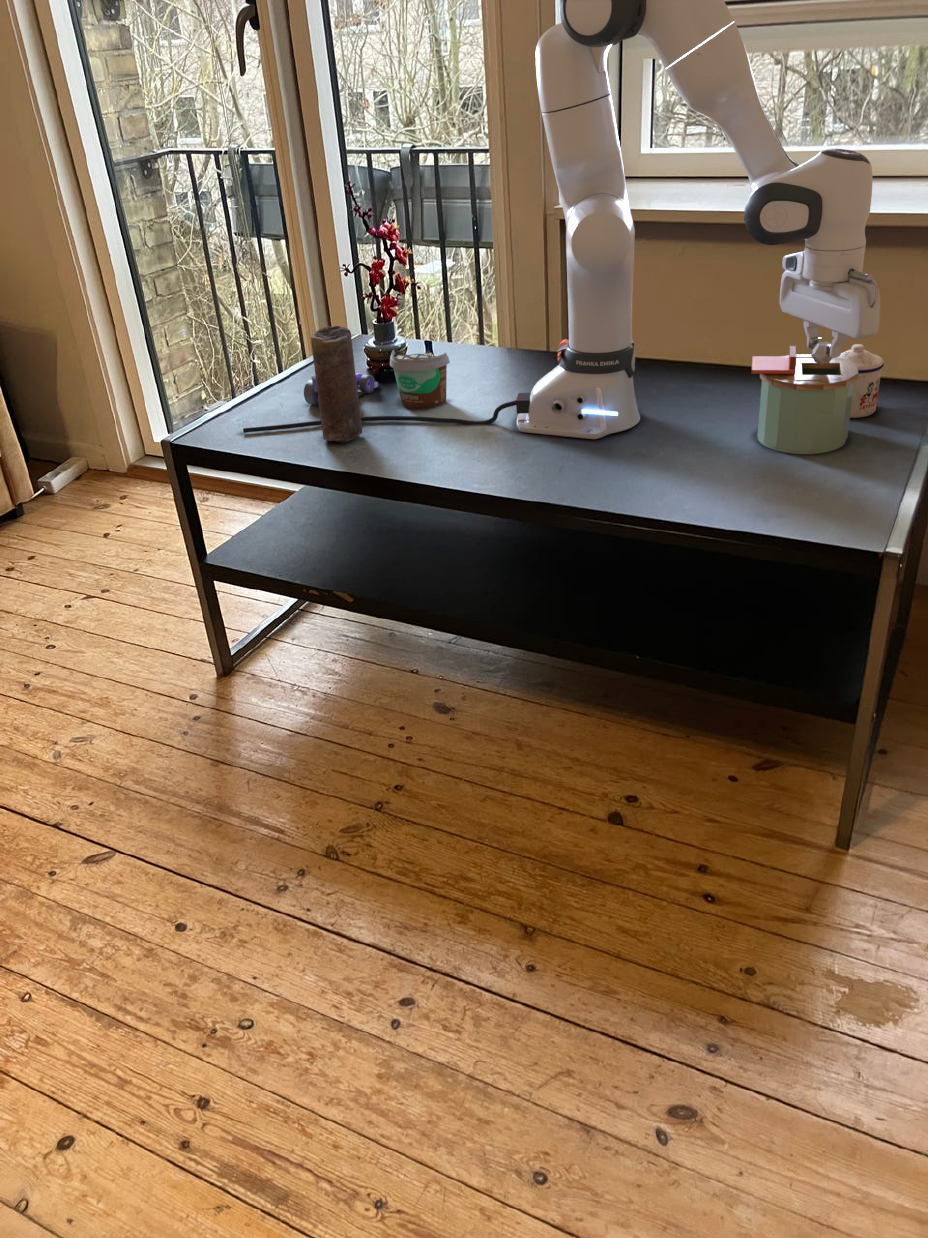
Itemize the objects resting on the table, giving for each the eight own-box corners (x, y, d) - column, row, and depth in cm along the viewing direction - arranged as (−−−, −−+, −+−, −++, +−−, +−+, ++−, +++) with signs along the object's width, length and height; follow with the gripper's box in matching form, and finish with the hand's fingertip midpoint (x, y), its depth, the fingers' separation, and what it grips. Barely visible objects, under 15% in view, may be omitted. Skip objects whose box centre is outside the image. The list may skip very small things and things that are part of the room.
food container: (383, 408, 199) (377, 359, 194) (397, 398, 204) (391, 349, 199) (441, 412, 195) (436, 362, 189) (453, 401, 199) (448, 352, 194)
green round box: (756, 453, 167) (761, 388, 161) (758, 421, 179) (762, 360, 173) (848, 455, 163) (857, 390, 158) (843, 422, 175) (851, 360, 169)
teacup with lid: (867, 422, 174) (877, 355, 168) (815, 414, 179) (822, 349, 173) (888, 399, 183) (897, 336, 176) (837, 393, 187) (845, 330, 181)
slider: (751, 373, 164) (752, 357, 163) (752, 359, 170) (753, 344, 168) (795, 373, 162) (796, 357, 161) (794, 359, 168) (796, 344, 167)
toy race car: (384, 387, 210) (380, 356, 207) (344, 412, 199) (339, 380, 196) (346, 383, 214) (342, 353, 211) (305, 407, 203) (300, 375, 200)
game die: (805, 361, 164) (807, 343, 163) (823, 356, 166) (825, 338, 164) (821, 366, 162) (823, 348, 160) (839, 361, 163) (841, 343, 161)
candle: (370, 432, 189) (356, 325, 178) (354, 447, 183) (339, 338, 172) (334, 430, 191) (318, 325, 181) (317, 445, 185) (299, 337, 175)
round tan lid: (759, 389, 161) (759, 383, 161) (760, 359, 173) (760, 353, 173) (860, 390, 157) (860, 384, 157) (854, 360, 169) (855, 354, 169)
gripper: (896, 273, 148) (883, 365, 155) (808, 249, 164) (800, 333, 172) (861, 280, 146) (849, 373, 154) (776, 255, 163) (769, 340, 170)
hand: (823, 352), depth 163 cm, fingers closed on game die, 3 cm apart
